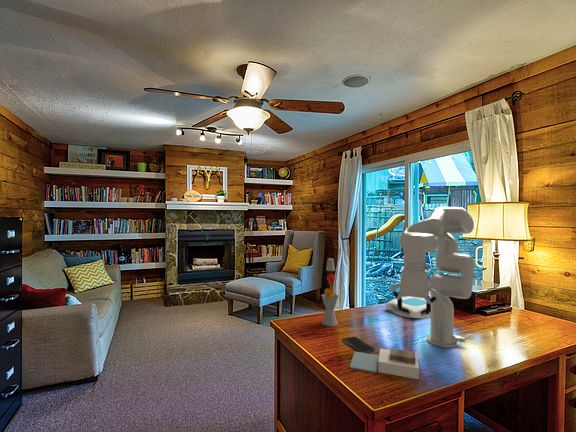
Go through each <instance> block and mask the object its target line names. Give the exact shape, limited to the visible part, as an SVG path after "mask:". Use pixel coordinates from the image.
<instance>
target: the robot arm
mask: <svg viewBox="0 0 576 432" xmlns="http://www.w3.org/2000/svg"><path fill="white" fill-rule="evenodd" d="M474 228H475V222H474V219H473V217H472V216H471V215H470V213H469V212H468V211H467V210H466V209H465V208H463V207H461V206H460V207H459V206H439V207H437V208H436V207H435V208H434V209H433V210H432V211H431V213H430V214H429V215H428V217H427V218H426V219H424V220H421V221H419V222H416V223H413V224H411V225H409V226H407V227H406V228H405V229H404V230H403V232H402V234H401V235H400V238H399V245H400V247H401V249H403V252H404V253H403V255H404V256H403V268H402V269H401V274H400V279H399V283H397V284H394V285H391V286H390V290H391V293H392V294H393V296H394V297H395V299H397V307H399V310H400V311H402V310H403V309H402V297H407V296H409V297H418V298H424V299H425V300H426V301H427V303H426V310H425V313H426V314H427V315H428V314H429V312H431V316H430V332H429V333H430V334H429V335H427V336H426V341H427V342H428V343H429V344H431V345H434V346H437V347H440V348H449V349H450V348H455V347H457V346H458V342H460V343H466V338H465V337H461V335H456V334H454V315H455V313H454V311H455V309H454V304H453V301H452V299H450V297H451V298H456V299H463V300H468V299H470V297H472V292H473V286H474V285H473V284H474V276H475V275H474V274H475V261H474V258H473V257H472V256H471V255H470V254H466V253H459V243H458V241H457V239H456V238H455V236H453V234H460V235H462V234H463V235H466V234H467V235H469V234H471V233H472V232H473V231H474ZM436 250H437V252H436V259H435V260H436V261H435V268H436V270H437V271H438V272H442V273H443V274H442V273H435V274H432V275H431V276H430V277H429V271H428V270H426V269H430V264H427V263H426V253H433V252H435V251H436ZM444 273H446V274H444ZM449 274H450V275H449ZM451 274H455V275H451ZM457 275H460V276H457ZM397 288H399V292H398V291H396V289H397ZM429 294H430V296H429ZM401 309H402V310H401Z"/></svg>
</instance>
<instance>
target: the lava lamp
mask: <svg viewBox="0 0 576 432" xmlns="http://www.w3.org/2000/svg"><path fill="white" fill-rule="evenodd" d="M325 270H326V271H329V272H334V271H336V268H335V262H334V258H330V257H329V258H327V261H326V268H325ZM335 278H336V276H335V275H334V274H333V273H329V274H327V275H326V280H327V282H328V284H329V288H327V287H326V288H325V289H324V291H323V292H324V293H323V294H321V299H322V301H323V305H324V307H325V310H324V311H325V312H324V314H323V317H322V320H321V325H323V326H327V327H335V326H337V325H338V320H337V317H336V313H335V307H336V305H337V302H338V298H339V295H338V294H335V292H334V283H335Z"/></svg>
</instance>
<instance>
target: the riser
mask: <svg viewBox="0 0 576 432" xmlns="http://www.w3.org/2000/svg"><path fill="white" fill-rule="evenodd" d="M378 354H379V360H378V367H377V373H379V374H380V373H381V374H386V375H392V376H398V377H404V378H409V379H415V380H419V379H420V368H419V359H418V358H419V357H418V354H417V353H415V358H416V362H415V364H412V363H406V362H400V361H394V360H390V349H387V348H379V353H378Z"/></svg>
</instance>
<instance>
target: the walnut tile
mask: <svg viewBox="0 0 576 432" xmlns="http://www.w3.org/2000/svg"><path fill="white" fill-rule="evenodd" d="M389 350H390V360H394V361H400V362H406V363H412V364H415V362H416V358H415V354H416V352H415V351H412V350H411V351H410V350H405V349H399V348H398V349H397V348H392V347H391V348H389Z"/></svg>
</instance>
